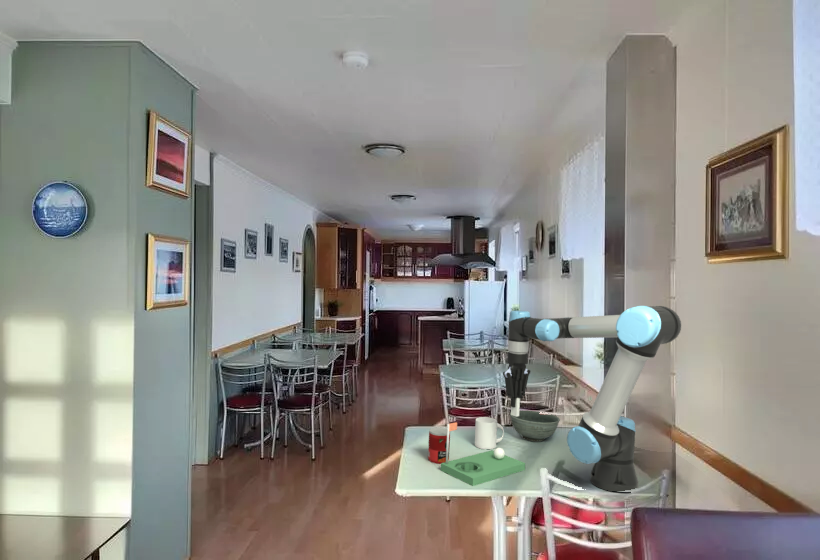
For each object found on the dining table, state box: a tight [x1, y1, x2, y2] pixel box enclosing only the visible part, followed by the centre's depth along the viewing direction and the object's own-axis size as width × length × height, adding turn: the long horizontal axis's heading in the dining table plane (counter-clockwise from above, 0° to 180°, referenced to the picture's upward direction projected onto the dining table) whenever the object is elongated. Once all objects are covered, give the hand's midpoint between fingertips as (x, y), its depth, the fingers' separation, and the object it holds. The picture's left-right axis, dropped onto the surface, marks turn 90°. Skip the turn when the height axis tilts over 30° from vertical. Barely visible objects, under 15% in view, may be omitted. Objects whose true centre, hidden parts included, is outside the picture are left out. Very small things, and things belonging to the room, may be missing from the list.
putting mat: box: [440, 422, 526, 487], centre depth 188 cm, size 16×26×16 cm, turn 128°
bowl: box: [509, 409, 561, 442], centre depth 227 cm, size 21×21×10 cm
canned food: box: [427, 427, 451, 465], centre depth 196 cm, size 8×8×11 cm
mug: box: [474, 416, 505, 450], centre depth 214 cm, size 9×12×11 cm
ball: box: [493, 447, 506, 459], centre depth 193 cm, size 4×4×4 cm
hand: (514, 415), depth 198 cm, fingers closed
